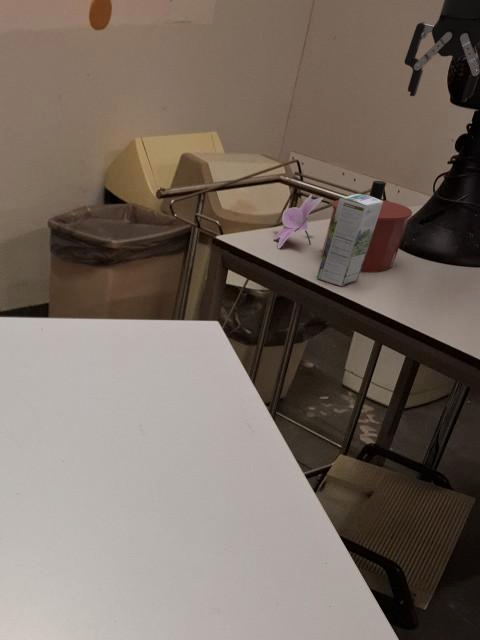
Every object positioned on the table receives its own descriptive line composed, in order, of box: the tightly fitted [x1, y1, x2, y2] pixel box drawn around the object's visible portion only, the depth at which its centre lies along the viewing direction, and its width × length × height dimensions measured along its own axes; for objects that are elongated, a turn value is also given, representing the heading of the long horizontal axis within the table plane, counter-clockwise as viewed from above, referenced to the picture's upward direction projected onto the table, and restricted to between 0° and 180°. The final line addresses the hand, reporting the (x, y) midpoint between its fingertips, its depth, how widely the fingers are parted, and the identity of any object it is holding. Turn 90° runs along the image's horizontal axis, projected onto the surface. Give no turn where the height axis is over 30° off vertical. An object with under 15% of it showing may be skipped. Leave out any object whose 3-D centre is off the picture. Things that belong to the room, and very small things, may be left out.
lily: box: [272, 193, 324, 250], centre depth 175 cm, size 12×12×10 cm
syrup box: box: [316, 193, 383, 287], centre depth 156 cm, size 6×6×14 cm
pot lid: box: [332, 180, 413, 221], centre depth 162 cm, size 15×15×6 cm
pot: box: [321, 208, 409, 273], centre depth 167 cm, size 14×19×10 cm
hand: (437, 98), depth 146 cm, fingers open, 8 cm apart
